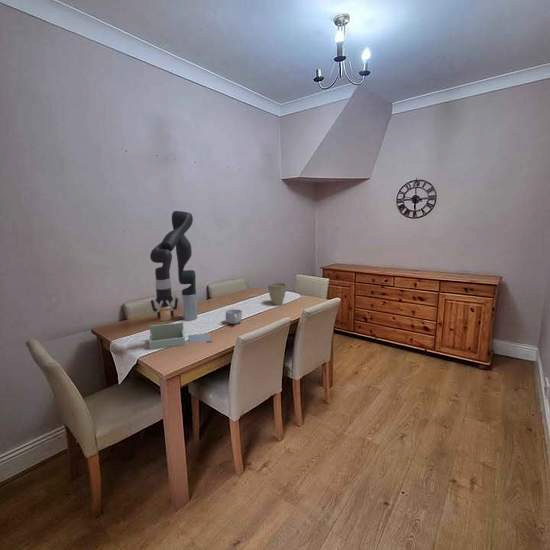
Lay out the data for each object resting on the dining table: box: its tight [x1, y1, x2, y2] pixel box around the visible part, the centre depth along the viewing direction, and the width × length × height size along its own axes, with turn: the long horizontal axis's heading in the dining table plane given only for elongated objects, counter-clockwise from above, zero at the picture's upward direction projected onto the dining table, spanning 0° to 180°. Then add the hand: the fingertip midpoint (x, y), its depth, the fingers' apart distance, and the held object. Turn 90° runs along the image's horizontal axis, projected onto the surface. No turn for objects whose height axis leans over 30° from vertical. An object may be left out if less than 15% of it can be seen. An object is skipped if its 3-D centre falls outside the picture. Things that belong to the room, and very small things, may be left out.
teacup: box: [224, 308, 243, 325], centre depth 198 cm, size 14×11×8 cm
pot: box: [159, 306, 172, 321], centre depth 163 cm, size 6×6×7 cm
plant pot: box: [267, 282, 287, 306], centre depth 241 cm, size 15×15×16 cm
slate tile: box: [187, 332, 213, 344], centre depth 172 cm, size 12×12×1 cm
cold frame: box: [148, 322, 186, 350], centre depth 166 cm, size 14×18×9 cm
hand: (165, 317), depth 164 cm, fingers closed on pot, 5 cm apart
